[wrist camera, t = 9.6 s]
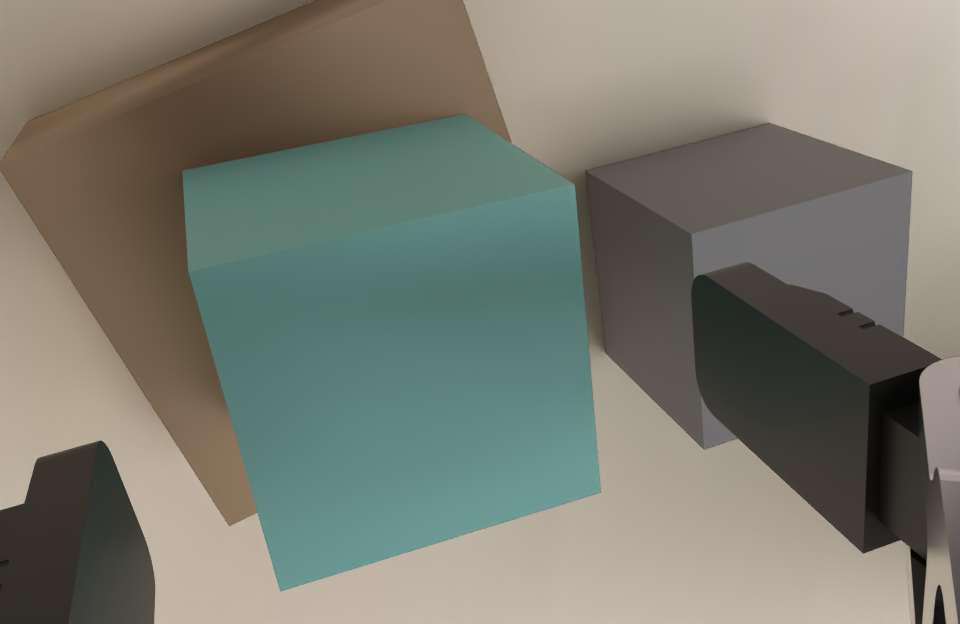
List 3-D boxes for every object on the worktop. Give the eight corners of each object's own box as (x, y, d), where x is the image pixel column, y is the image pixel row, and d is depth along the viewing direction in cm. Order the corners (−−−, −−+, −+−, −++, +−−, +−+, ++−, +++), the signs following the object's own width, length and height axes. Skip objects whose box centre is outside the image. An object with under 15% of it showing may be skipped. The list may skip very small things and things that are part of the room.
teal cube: (465, 113, 16) (575, 184, 12) (498, 356, 18) (600, 491, 14) (182, 170, 15) (188, 271, 11) (251, 421, 17) (280, 591, 13)
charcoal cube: (767, 122, 23) (912, 171, 18) (770, 301, 25) (900, 382, 20) (584, 170, 22) (691, 233, 17) (604, 352, 24) (703, 449, 19)
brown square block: (399, -38, 19) (453, -28, 15) (518, 285, 23) (583, 351, 19) (30, 117, 18) (-3, 166, 14) (218, 428, 22) (229, 526, 18)
